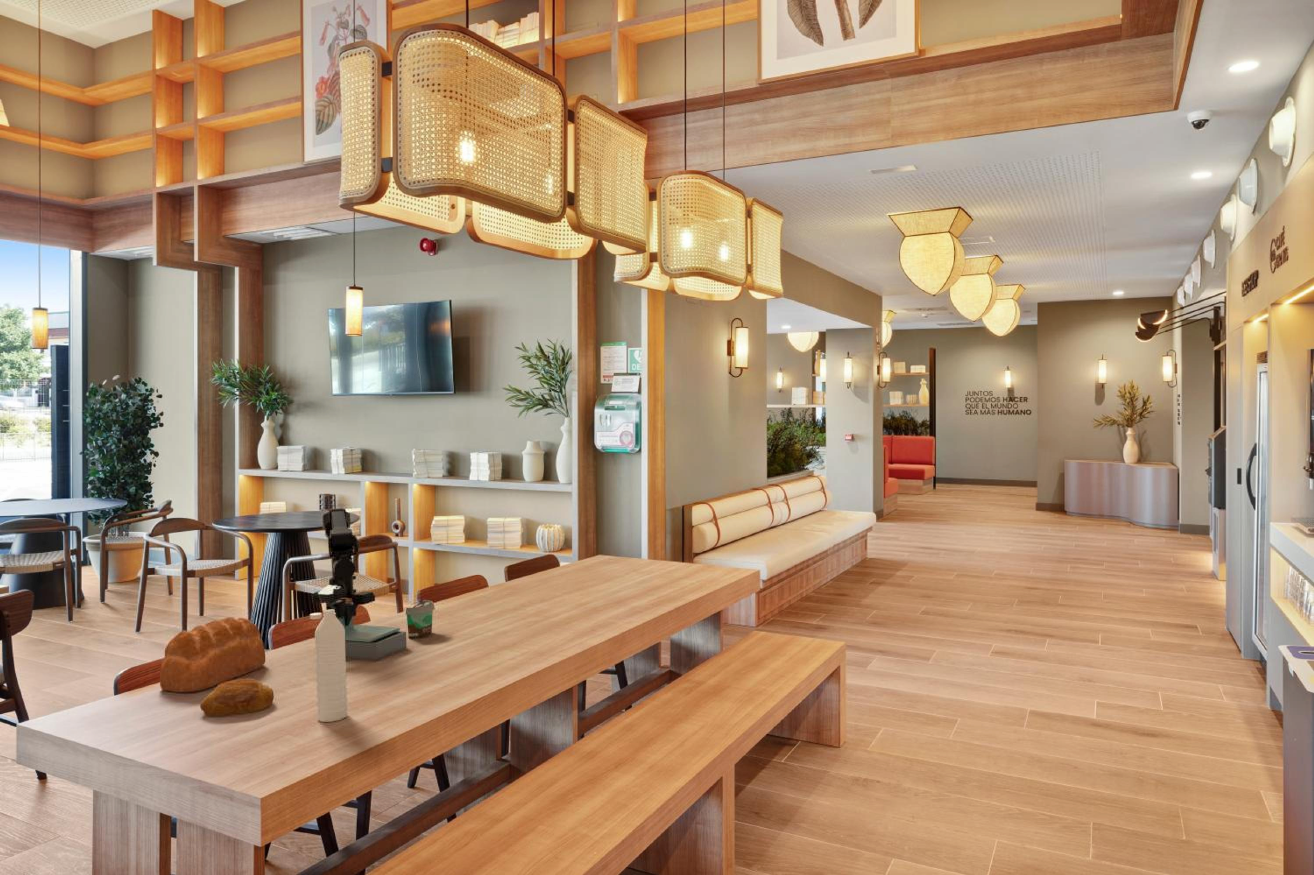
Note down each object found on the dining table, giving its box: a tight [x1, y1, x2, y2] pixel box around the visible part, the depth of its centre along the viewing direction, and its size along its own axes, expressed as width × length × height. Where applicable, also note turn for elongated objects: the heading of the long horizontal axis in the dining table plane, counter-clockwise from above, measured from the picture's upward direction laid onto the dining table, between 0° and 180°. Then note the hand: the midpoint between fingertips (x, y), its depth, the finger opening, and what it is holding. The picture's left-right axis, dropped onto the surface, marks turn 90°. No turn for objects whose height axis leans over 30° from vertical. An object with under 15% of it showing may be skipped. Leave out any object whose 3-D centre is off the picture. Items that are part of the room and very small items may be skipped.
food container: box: [405, 599, 436, 640], centre depth 269 cm, size 12×6×10 cm, turn 168°
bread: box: [159, 616, 266, 693], centre depth 228 cm, size 14×26×16 cm, turn 163°
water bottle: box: [309, 609, 348, 723], centre depth 193 cm, size 9×6×25 cm
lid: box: [338, 616, 401, 642], centre depth 250 cm, size 16×14×5 cm
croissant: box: [199, 678, 275, 717], centre depth 203 cm, size 14×16×8 cm
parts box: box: [345, 630, 408, 662], centre depth 249 cm, size 16×14×5 cm
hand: (344, 625), depth 252 cm, fingers closed on lid, 2 cm apart
